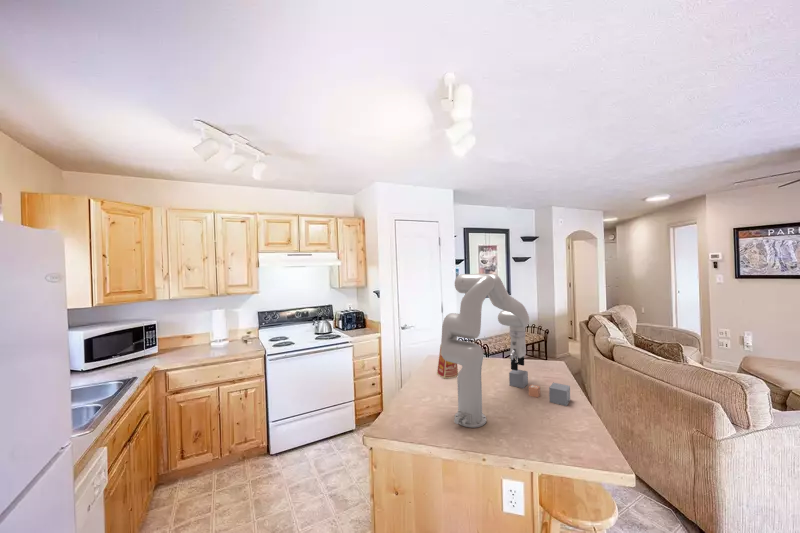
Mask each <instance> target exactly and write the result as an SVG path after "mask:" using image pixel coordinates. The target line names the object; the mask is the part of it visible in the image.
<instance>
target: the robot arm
mask: <svg viewBox="0 0 800 533" xmlns="http://www.w3.org/2000/svg"><path fill="white" fill-rule="evenodd" d="M454 288H455V290H456V291H457V292H458V293H460V294H463V295H464V296H463V297H462V299H461V300H460V301H461V302H460V306H459V308H460V309H459V313H456V312H452V313H448V314H446V316H445V317H444V318H443V320H442V325H441V342H440V345H441V354H442V357H443V359H444V360H446V361H448V362H452V363H456V364H457V365H460V366H462V367H461V368H460V370H458V376H456V379H457V381H456V382H457V408H458V409H457V412H456V413H455V414H454V420H453V422H454V424H456V425H459V426H462V427H466V428H480V427H483V426H484V425H485V424H486V423H487V416H486V415H485V414H484V413H483V394H482V393H483V392H482V391H483V390H482V388H483V387H482V368H483V360H484V350H483V348H482V347H481V345H479V344H478V343H475V342H472V341H466V340H459V339H458V338H462V339H468V340H469V339H471V340H474V339H477V338H478V337H480V335H481V327H482V311H483V310H482V308H483V307H482V306H483V303H484V301H485V299H486V298H487V297H488V298H489V300H490V303H491V305H493V306H494V307H495V308H497V309H499V310H501V311H500V312H499V313H498V316H497V321H498V323H500V324H501V325H502V326H507V327H509V337H510V343H509V344H510V346H509V348H510V349H509V350H510V351H509V352H510V355H509V356H510V369H511V370H510V371H512V370H516V371H517V370H519V369H518V367H519V366H523V367H524V366H525V356H526V354H527V346H526V344H527V343H526V327H528V326H529V324H530V316H529V312H528V311H527V309H526V306H524V305H523V303H522V302H520V301H519V300H517V299H516V298H515V297H513V296H512V295H510V294H509V293H508V291H507V289H506V287H505V285H504V283H503V281H502V279H501V277H500V276H498V275H497V274H494V273H461V274H459V275H457V276H456V278H455V280H454Z"/></svg>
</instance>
